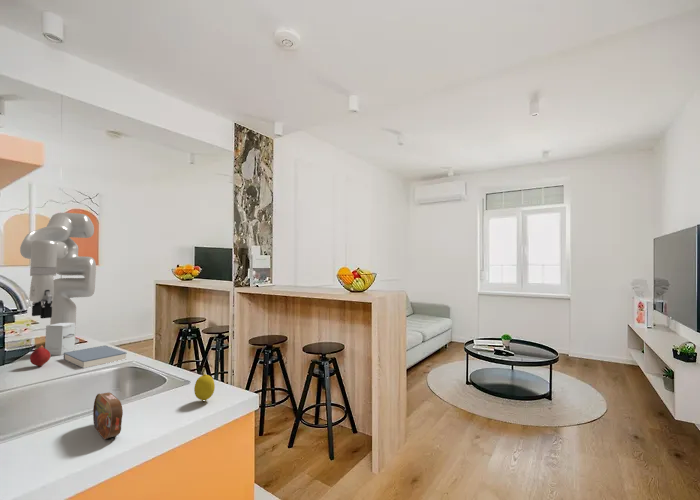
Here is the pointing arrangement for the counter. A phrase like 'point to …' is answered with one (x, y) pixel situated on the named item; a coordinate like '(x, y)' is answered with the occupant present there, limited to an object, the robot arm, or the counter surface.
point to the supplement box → (60, 338)
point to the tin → (107, 415)
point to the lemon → (204, 387)
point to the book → (94, 356)
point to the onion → (40, 356)
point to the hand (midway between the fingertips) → (41, 316)
